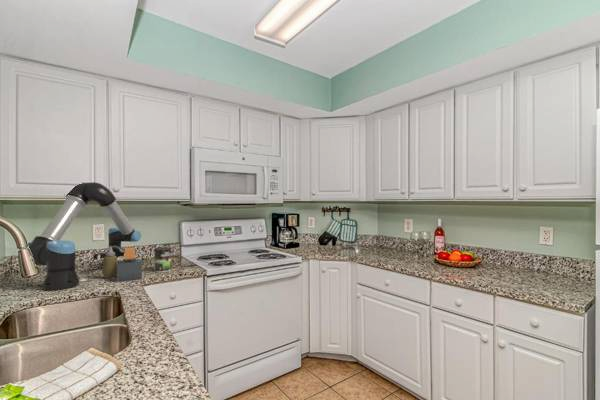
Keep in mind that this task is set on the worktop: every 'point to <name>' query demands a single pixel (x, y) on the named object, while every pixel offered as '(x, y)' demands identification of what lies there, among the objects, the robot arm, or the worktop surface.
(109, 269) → the squeeze bottle
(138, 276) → the switch box
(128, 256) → the breaker handle
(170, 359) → the worktop surface
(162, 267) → the coffee can
